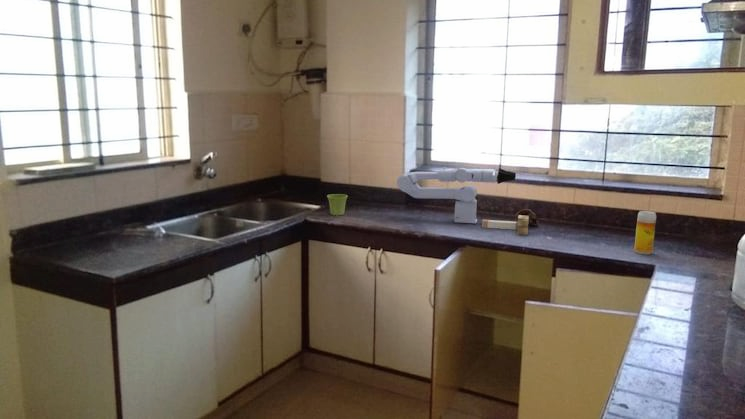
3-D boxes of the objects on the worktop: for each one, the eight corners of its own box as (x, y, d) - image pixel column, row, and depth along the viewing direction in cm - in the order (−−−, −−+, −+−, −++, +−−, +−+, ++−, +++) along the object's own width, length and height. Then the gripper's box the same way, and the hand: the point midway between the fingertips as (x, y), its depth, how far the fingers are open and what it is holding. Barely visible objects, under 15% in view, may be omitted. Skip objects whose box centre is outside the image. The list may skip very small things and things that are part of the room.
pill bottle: (650, 255, 215) (655, 214, 212) (632, 253, 218) (636, 212, 215) (653, 252, 220) (657, 211, 217) (635, 249, 223) (639, 209, 220)
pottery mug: (543, 229, 256) (537, 213, 253) (522, 238, 257) (516, 223, 254) (533, 216, 267) (527, 201, 263) (513, 225, 268) (507, 210, 264)
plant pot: (347, 216, 272) (347, 197, 270) (326, 216, 272) (326, 197, 270) (348, 212, 281) (348, 194, 279) (327, 212, 281) (327, 193, 280)
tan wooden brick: (517, 234, 244) (518, 218, 243) (517, 230, 251) (518, 214, 250) (527, 234, 243) (528, 219, 242) (527, 230, 250) (528, 215, 249)
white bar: (482, 227, 255) (482, 220, 255) (482, 226, 258) (482, 219, 257) (518, 229, 252) (519, 223, 251) (518, 228, 254) (519, 221, 254)
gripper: (481, 167, 253) (515, 168, 250) (484, 164, 267) (516, 165, 264) (481, 184, 254) (514, 185, 251) (484, 180, 268) (515, 181, 265)
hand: (515, 176), depth 257 cm, fingers open, 7 cm apart
